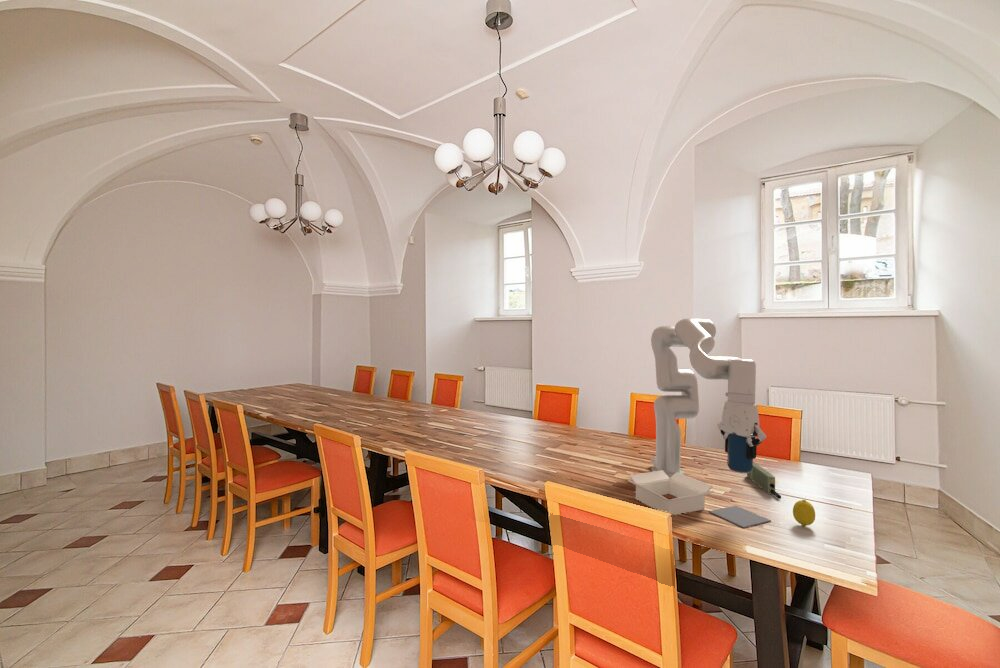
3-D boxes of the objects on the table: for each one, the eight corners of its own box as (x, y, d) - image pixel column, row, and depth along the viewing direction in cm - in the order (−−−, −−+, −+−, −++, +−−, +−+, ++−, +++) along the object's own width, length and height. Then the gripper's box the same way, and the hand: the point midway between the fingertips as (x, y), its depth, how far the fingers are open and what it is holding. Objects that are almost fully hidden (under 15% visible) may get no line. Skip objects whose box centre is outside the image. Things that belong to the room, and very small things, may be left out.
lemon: (788, 522, 133) (788, 496, 132) (805, 522, 133) (805, 496, 133) (802, 531, 127) (802, 503, 127) (819, 530, 128) (820, 503, 127)
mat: (709, 512, 139) (709, 511, 139) (735, 506, 144) (735, 505, 144) (743, 528, 128) (743, 526, 128) (770, 521, 133) (770, 520, 133)
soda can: (757, 473, 133) (758, 434, 133) (737, 474, 132) (738, 434, 132) (741, 466, 140) (742, 429, 140) (722, 467, 139) (723, 429, 139)
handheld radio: (754, 477, 175) (785, 501, 150) (746, 477, 175) (774, 500, 151) (754, 460, 175) (784, 481, 150) (745, 460, 175) (774, 481, 151)
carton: (620, 496, 152) (620, 476, 152) (669, 488, 160) (669, 468, 160) (668, 523, 131) (669, 499, 131) (721, 511, 140) (722, 489, 140)
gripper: (709, 395, 142) (708, 449, 143) (759, 403, 127) (758, 464, 127) (725, 393, 145) (724, 447, 146) (776, 402, 130) (775, 461, 130)
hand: (740, 454), depth 136 cm, fingers closed on soda can, 7 cm apart
